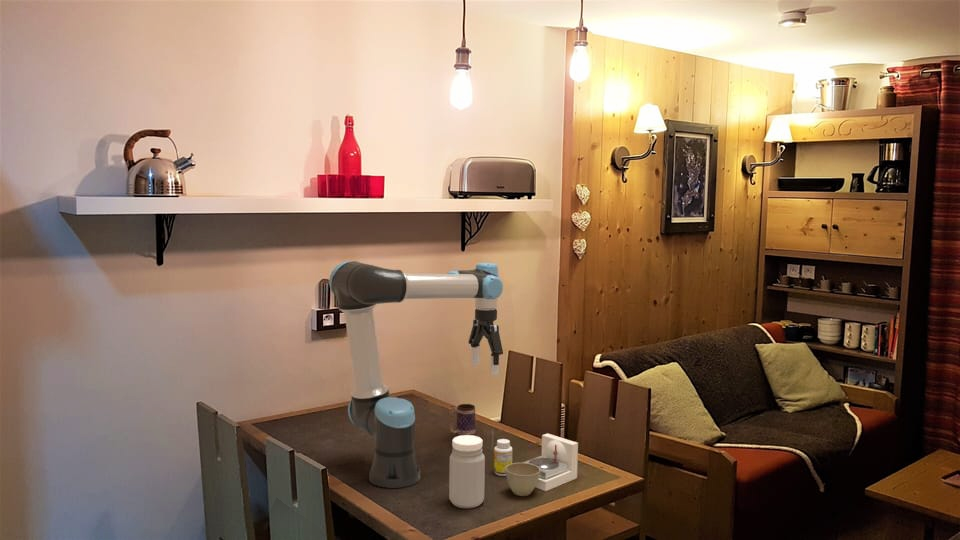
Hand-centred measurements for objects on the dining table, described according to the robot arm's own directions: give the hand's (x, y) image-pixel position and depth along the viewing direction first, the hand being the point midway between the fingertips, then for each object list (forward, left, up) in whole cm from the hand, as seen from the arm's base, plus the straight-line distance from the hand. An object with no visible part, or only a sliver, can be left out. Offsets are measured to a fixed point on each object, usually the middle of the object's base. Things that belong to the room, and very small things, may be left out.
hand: (484, 369), depth 262 cm
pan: (-12, -38, -22) cm, 45 cm away
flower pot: (-24, -40, -25) cm, 53 cm away
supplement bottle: (-17, -26, -25) cm, 40 cm away
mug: (-5, +5, -25) cm, 26 cm away
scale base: (-11, -38, -25) cm, 46 cm away
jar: (-40, -34, -25) cm, 58 cm away
